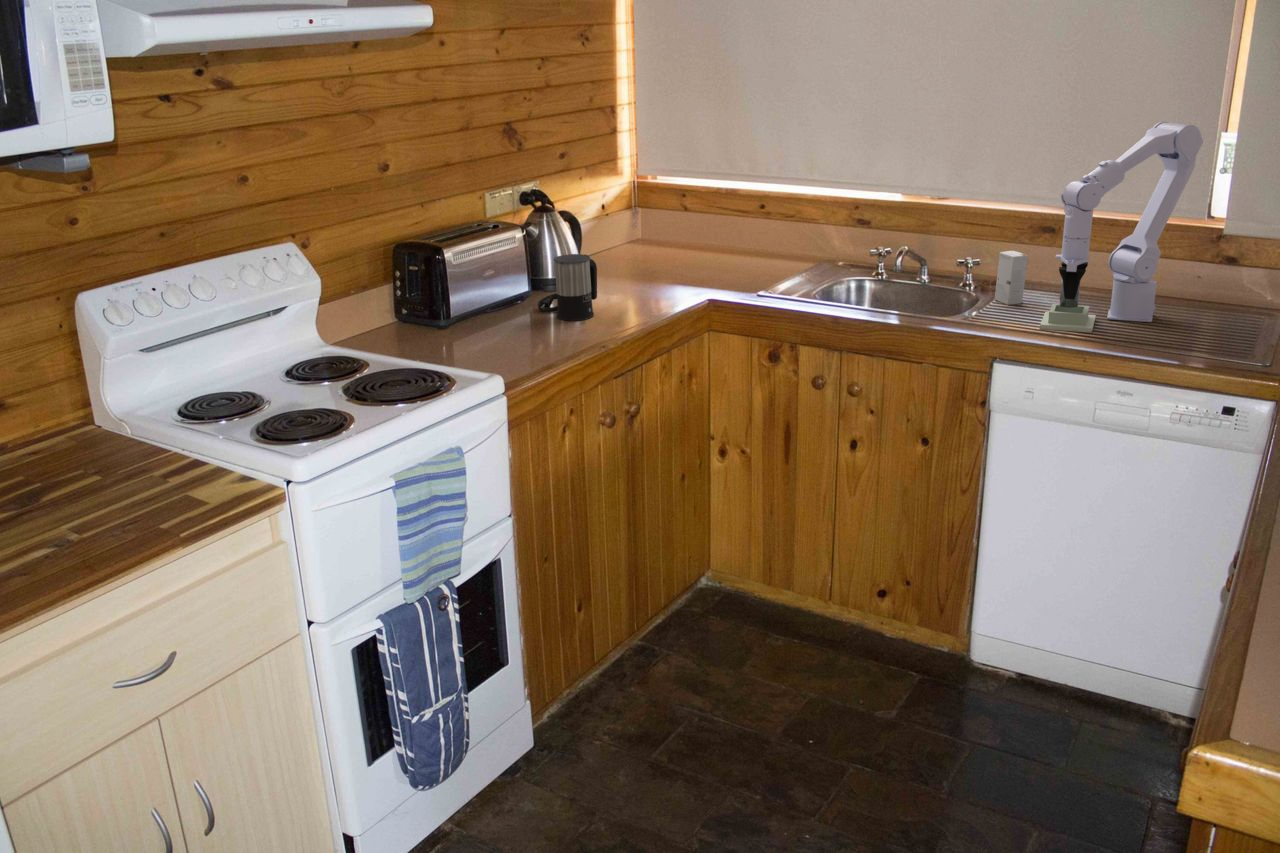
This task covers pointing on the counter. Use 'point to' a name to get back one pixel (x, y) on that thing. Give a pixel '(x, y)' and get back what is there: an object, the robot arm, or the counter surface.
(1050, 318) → the socket stand
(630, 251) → the counter surface
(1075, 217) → the robot arm
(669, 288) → the counter surface
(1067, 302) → the peg
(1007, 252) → the skincare box
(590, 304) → the milk frother
